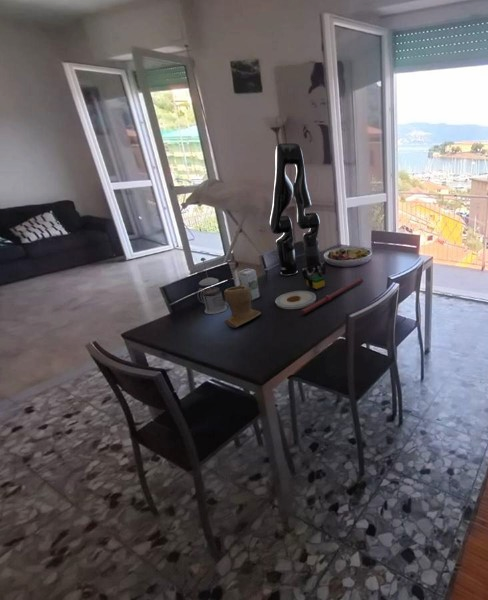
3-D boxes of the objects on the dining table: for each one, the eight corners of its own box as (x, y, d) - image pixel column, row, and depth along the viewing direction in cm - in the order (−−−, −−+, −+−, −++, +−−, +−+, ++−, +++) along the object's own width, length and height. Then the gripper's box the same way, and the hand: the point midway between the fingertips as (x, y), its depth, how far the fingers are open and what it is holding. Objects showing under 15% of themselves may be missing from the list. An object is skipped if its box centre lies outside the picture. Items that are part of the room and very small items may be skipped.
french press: (232, 306, 167) (220, 255, 157) (213, 317, 157) (198, 263, 147) (215, 303, 170) (202, 253, 160) (196, 314, 160) (180, 261, 150)
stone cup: (246, 310, 162) (239, 280, 156) (265, 315, 158) (259, 284, 151) (217, 325, 150) (209, 292, 144) (237, 331, 145) (229, 297, 139)
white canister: (252, 295, 179) (246, 267, 173) (260, 296, 177) (255, 269, 171) (243, 299, 174) (237, 271, 168) (251, 301, 172) (246, 273, 166)
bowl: (333, 253, 242) (331, 242, 239) (376, 254, 238) (375, 242, 235) (317, 267, 215) (316, 255, 212) (366, 269, 211) (365, 256, 208)
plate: (268, 302, 171) (267, 299, 170) (301, 289, 184) (300, 287, 183) (290, 313, 160) (290, 310, 159) (324, 299, 173) (324, 296, 172)
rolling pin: (306, 316, 156) (305, 310, 155) (300, 315, 158) (299, 308, 156) (364, 282, 192) (363, 277, 190) (359, 281, 193) (358, 276, 192)
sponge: (307, 285, 186) (306, 277, 184) (315, 282, 190) (314, 274, 188) (316, 288, 181) (315, 280, 179) (325, 285, 185) (324, 277, 183)
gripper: (319, 248, 185) (322, 279, 192) (295, 255, 175) (300, 287, 182) (328, 251, 181) (331, 282, 188) (304, 258, 171) (308, 290, 178)
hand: (315, 284), depth 185 cm, fingers closed on sponge, 5 cm apart
